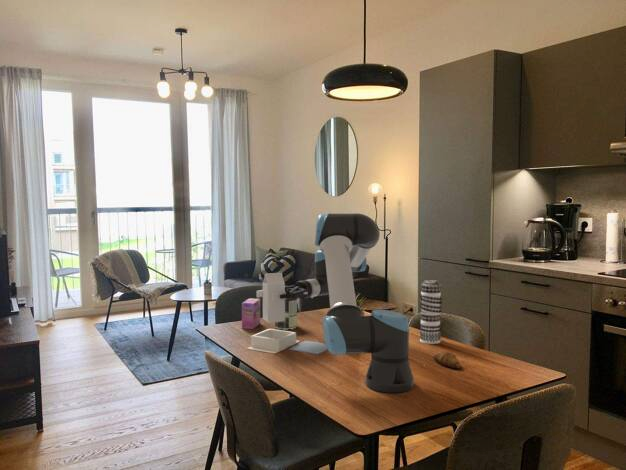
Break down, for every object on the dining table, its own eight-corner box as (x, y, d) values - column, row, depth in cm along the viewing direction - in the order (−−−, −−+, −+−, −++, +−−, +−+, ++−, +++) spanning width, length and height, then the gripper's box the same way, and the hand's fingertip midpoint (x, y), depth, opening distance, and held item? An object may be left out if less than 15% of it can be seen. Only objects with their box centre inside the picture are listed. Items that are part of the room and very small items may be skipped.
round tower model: (414, 340, 217) (414, 280, 215) (427, 336, 223) (428, 278, 221) (432, 345, 210) (433, 283, 208) (446, 341, 217) (447, 280, 215)
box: (253, 329, 236) (253, 303, 235) (241, 328, 237) (241, 302, 236) (260, 323, 246) (260, 298, 245) (249, 323, 247) (248, 298, 246)
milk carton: (285, 321, 208) (284, 273, 207) (267, 323, 206) (267, 274, 204) (279, 317, 215) (279, 271, 213) (262, 319, 212) (262, 272, 211)
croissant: (467, 369, 183) (467, 355, 182) (451, 372, 180) (452, 357, 179) (442, 358, 195) (442, 345, 194) (427, 360, 192) (427, 347, 192)
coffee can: (277, 330, 233) (277, 299, 232) (272, 325, 243) (272, 295, 242) (300, 328, 236) (300, 297, 235) (294, 323, 246) (293, 293, 245)
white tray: (274, 353, 199) (274, 342, 199) (246, 349, 206) (246, 337, 205) (300, 341, 216) (299, 330, 216) (273, 337, 222) (273, 326, 222)
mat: (318, 354, 198) (318, 353, 198) (288, 349, 205) (288, 348, 205) (333, 345, 210) (333, 345, 210) (305, 341, 216) (305, 340, 216)
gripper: (325, 301, 214) (282, 309, 199) (290, 294, 230) (248, 301, 215) (325, 283, 213) (282, 289, 198) (290, 277, 229) (247, 283, 214)
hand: (264, 295), depth 206 cm, fingers closed on milk carton, 9 cm apart
